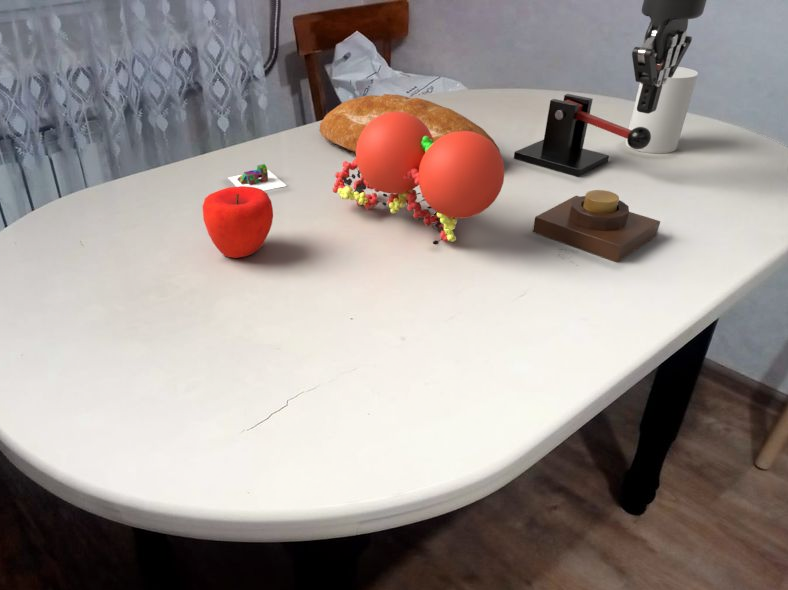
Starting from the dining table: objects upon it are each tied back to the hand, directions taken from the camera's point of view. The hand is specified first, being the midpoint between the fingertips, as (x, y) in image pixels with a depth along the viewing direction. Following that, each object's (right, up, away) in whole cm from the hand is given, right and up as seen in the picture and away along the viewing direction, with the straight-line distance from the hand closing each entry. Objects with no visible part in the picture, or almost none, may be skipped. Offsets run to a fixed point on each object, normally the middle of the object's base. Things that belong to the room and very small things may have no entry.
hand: (645, 111), depth 95 cm
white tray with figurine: (-57, -8, +10) cm, 59 cm away
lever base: (-8, -3, +13) cm, 16 cm away
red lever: (-4, -1, +7) cm, 8 cm away
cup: (+10, +1, +18) cm, 21 cm away
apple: (-57, -22, -10) cm, 62 cm away
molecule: (-35, -18, -5) cm, 40 cm away
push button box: (-11, -19, -9) cm, 24 cm away
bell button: (-11, -16, -11) cm, 23 cm away
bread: (-33, 0, +20) cm, 38 cm away
